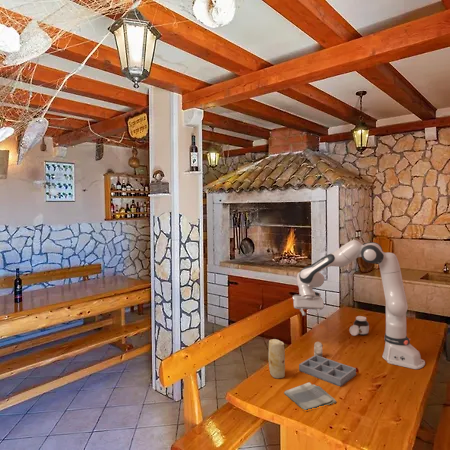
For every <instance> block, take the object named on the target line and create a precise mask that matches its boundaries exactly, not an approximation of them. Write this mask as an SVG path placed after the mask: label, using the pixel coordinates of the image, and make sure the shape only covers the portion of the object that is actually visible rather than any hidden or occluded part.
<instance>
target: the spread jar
mask: <svg viewBox="0 0 450 450" xmlns="http://www.w3.org/2000/svg"><path fill="white" fill-rule="evenodd" d="M369 330H370V323H369V321H367V317H366V316H361V315H358V316H355V320H354V321H353V325H351V326H350V327H349V330H348V331H349V333H350V334H351V336H354V337H355V336H363V337H364V336H367V335H368V334H369Z"/></svg>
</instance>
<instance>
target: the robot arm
mask: <svg viewBox="0 0 450 450" xmlns="http://www.w3.org/2000/svg"><path fill="white" fill-rule="evenodd" d="M357 258H361V259H362V260H363V261H364V262H366V263H369V264H375V265H378V266H379V272H380V278H381V283H382V289H383V294H384V299H385V333H384V343H385V344H384V350H383V353H382V358H383V359H384V360H385V361H386V363H388V364H391V365H395V366H399V367H404V368H408V369H413V370H419V369H422V368H424V366H425V365H426V360H424V359H422V357H421V353H420V351H419V350H417V348H416V347H414V346H413V345H412V344H411V343H410V341H411V337H410V338H409V337H408V336H407V311H408V309H409V306H408V300H407V296H406V292H405V285H404V282H403V281H404V280H403V276H402V271H401V270H402V269H401V265H400V261H399V260H398V257H397V255H396V254H395V253H393V252H388V251H387V252H384V251H383V248H382V246H381V244H379V243H377V242H374V241H373V242H371V241H370V242H365V243H363V244H362V243H361V242H360V241H359V240H357V239H352V240H350V241H348V242H347V243H345V244H343V245H342V246H340V247H339V248H338V249H336V250H334V251H333V252H331V253H329V254H325V255H324V256H323V257H321V258H320V259H318V260H316V261H315V262H314V263H312V264H310V265H309V266H305V267H302V269H301V270H300V271H299V272H298V273H297V274H296V282H297V283H296V284H297V287H298V293H299V294H297V293H296V294H294V295H292V301H293V308H294V309H295V310H299V312H301V315H302V317H303V316H304V317H305V316H306V315H307V313H306V312H305V311H304V310H314V311H316V312H315V316H316V317H319V316H320V311H322V310H323V309H324V308H325V304H324V301H323V298H322V297H321V296H322V295H321V293H320V292H317V291H315V290H313V289H315V288H319V287H321V286H323V284H324V282H325V276H324V275H323V274H322V273H321V271H323V270H324V269H326V268H328V267H338V268H344V267H346V266H349V265H350V264H351V263H352V262H354V261H355V260H356V259H357Z"/></svg>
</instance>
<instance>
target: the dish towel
mask: <svg viewBox="0 0 450 450" xmlns="http://www.w3.org/2000/svg"><path fill="white" fill-rule="evenodd" d="M283 394H284V395H285V396H286V397H288V398H289V400H291V401H292V402H293V403H294V402H295V404H296V405H297V406H298V407H299V408H300V407H301V408H302V409H304V410H308V409H312V408H317V407H319V406H324V405H329V406H331V405H334V404H336V403H337V399H335V397H333V396H332V395H330V394H329V393H328V392H327V391H325V390H324V389H323V388H322V387H321V386H320V385H316V384H312V383H311V382H310V381H309V382H306V383H303V384H301V385H298V386H295V387H292V388H290V389H286V390H285V391H284V392H283ZM333 403H334V404H333ZM330 404H331V405H330ZM301 408H300V409H301ZM302 409H301V410H302ZM304 410H303V411H304Z"/></svg>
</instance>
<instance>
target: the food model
mask: <svg viewBox="0 0 450 450" xmlns="http://www.w3.org/2000/svg"><path fill="white" fill-rule="evenodd" d="M285 353H286V352H285V343H284V341H281V340H279V339H276V338H273V339H269V340H268V357H267V358H268V369H269V373H270V375H271V377H272V378H274V379H283V378H285V375H286V372H285V371H286V362H285V361H286V354H285Z"/></svg>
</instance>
